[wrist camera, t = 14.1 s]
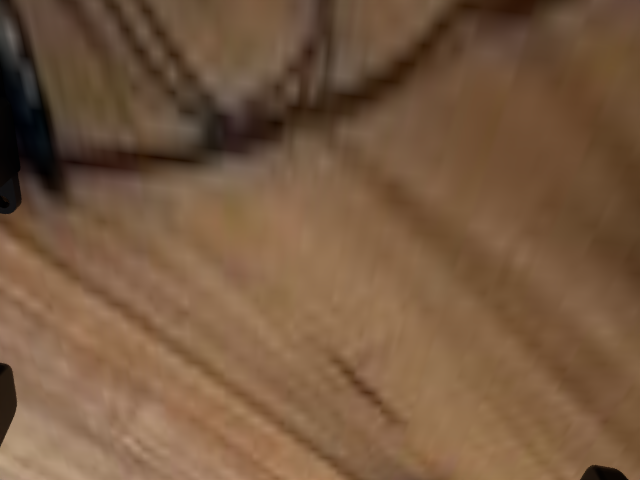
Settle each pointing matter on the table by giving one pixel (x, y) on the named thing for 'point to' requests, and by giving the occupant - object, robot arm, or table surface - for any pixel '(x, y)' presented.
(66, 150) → the table surface
